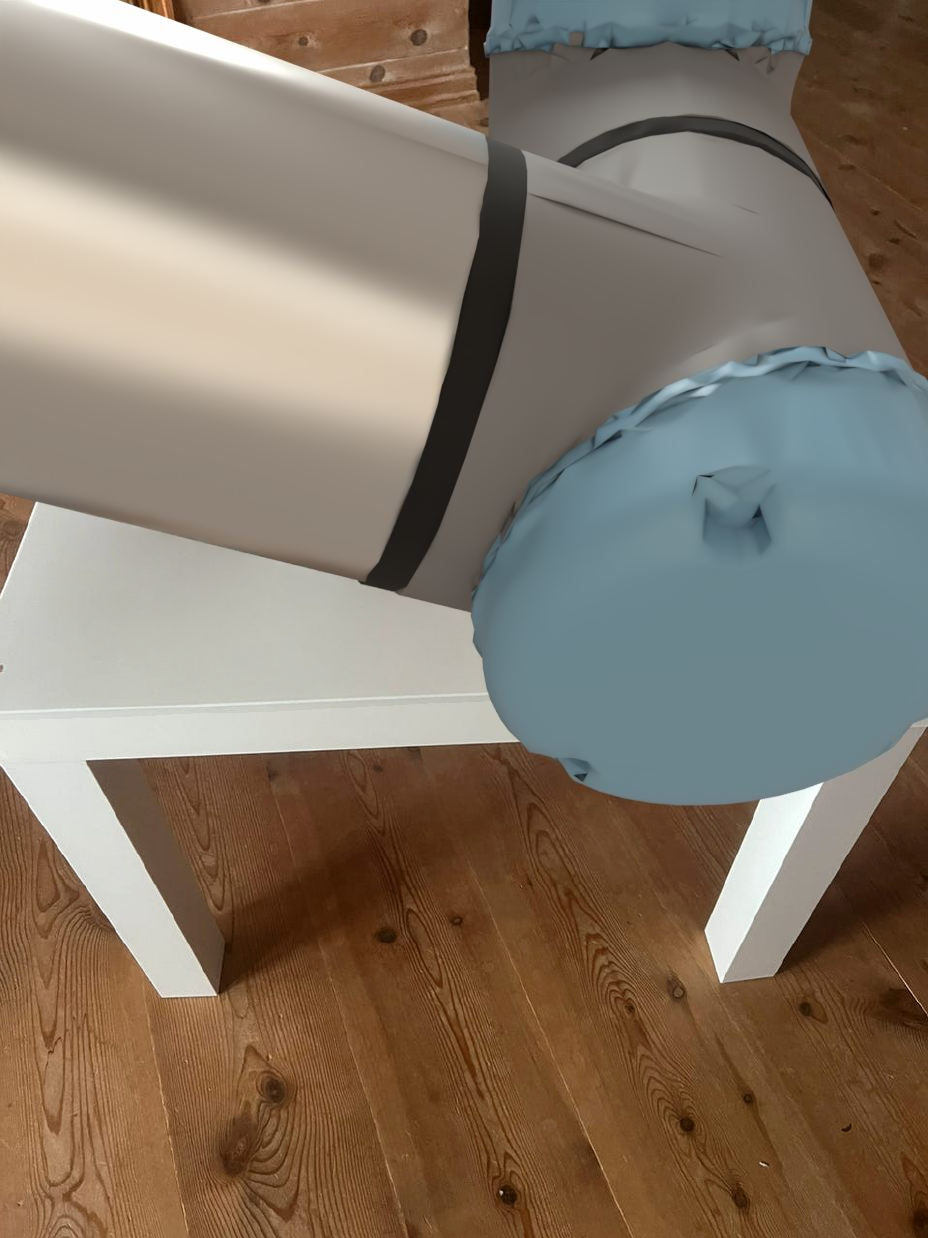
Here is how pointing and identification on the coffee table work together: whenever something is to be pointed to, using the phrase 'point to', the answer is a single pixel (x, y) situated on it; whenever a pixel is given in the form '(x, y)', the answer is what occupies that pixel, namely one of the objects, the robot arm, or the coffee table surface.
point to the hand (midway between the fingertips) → (121, 157)
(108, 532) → the coffee table surface
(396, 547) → the robot arm
